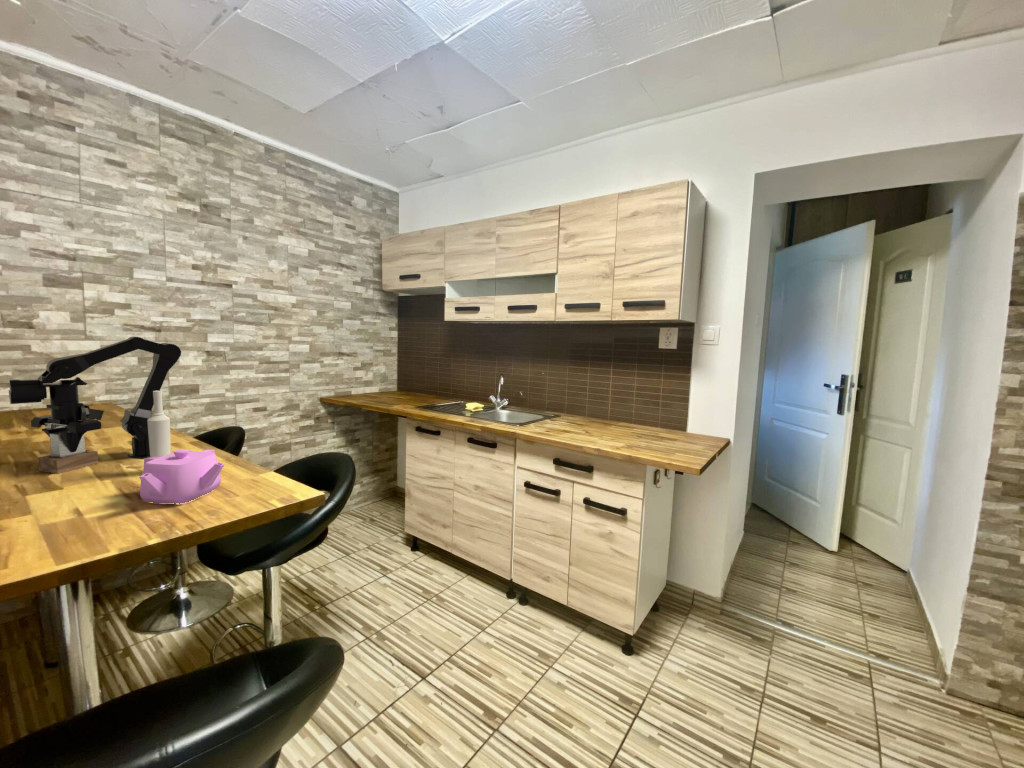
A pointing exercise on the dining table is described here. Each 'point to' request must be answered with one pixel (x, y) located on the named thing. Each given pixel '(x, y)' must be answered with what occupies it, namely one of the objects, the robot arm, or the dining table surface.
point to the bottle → (159, 429)
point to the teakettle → (180, 476)
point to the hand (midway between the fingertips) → (68, 451)
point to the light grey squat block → (64, 446)
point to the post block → (67, 462)
